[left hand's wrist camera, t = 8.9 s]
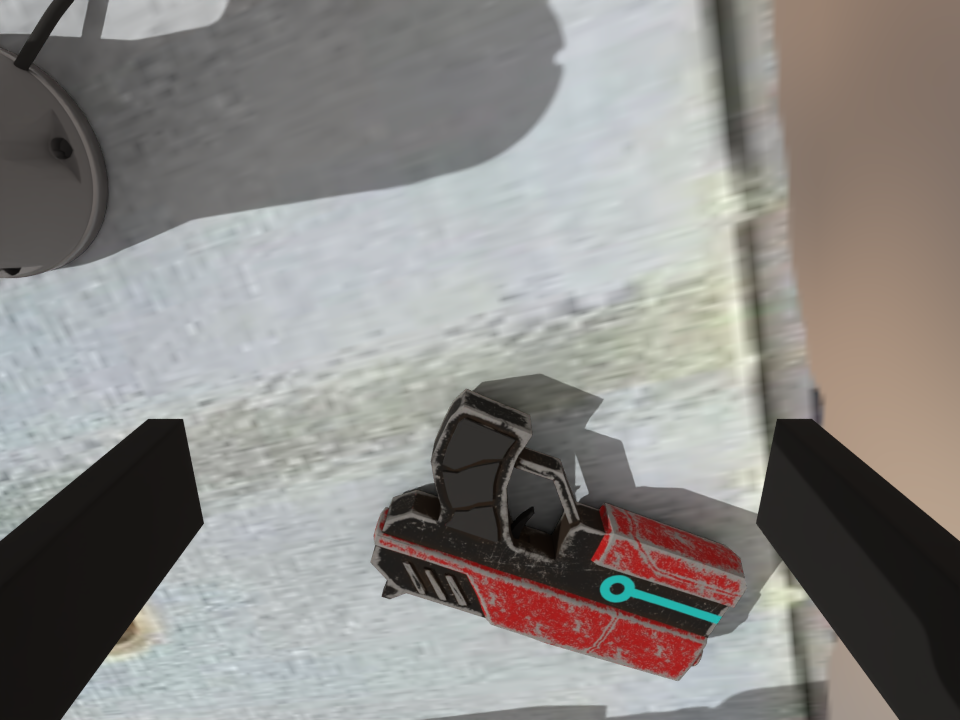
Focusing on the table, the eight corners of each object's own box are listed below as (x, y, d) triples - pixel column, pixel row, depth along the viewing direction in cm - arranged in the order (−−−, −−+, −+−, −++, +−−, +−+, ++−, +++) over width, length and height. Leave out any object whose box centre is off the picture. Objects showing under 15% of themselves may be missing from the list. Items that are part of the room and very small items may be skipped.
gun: (426, 397, 41) (351, 593, 48) (804, 530, 45) (685, 696, 51) (433, 373, 45) (363, 556, 52) (777, 495, 49) (670, 653, 56)
